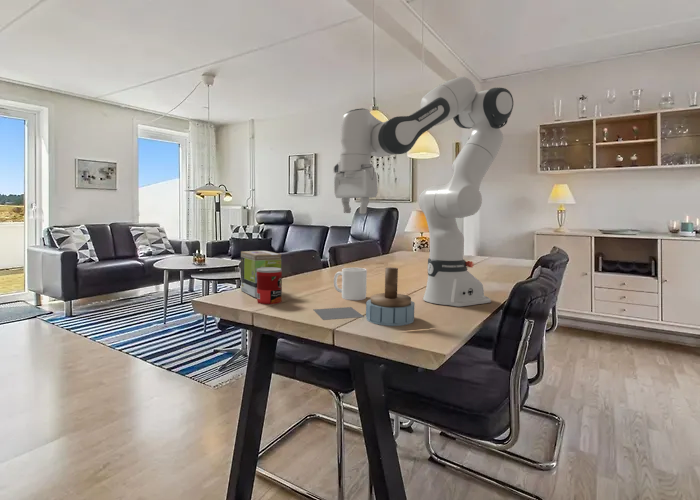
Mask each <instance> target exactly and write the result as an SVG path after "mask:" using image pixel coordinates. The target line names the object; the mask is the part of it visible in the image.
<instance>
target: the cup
mask: <svg viewBox="0 0 700 500" xmlns="http://www.w3.org/2000/svg"><path fill="white" fill-rule="evenodd" d="M367 275H368V271H367V269H366V268H363V267H344V268H342V269H341V271H337V272H336V273H335V274H334V277H333V287H334V289H335V290H336V291H337V292H339V293H340V294H341V298H342V299H343V300H346V301H362V300H366V298H367V280H368V279H367V277H368V276H367ZM339 276H341V288H340V287H339V286H338V277H339Z"/></svg>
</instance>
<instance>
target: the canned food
mask: <svg viewBox="0 0 700 500" xmlns="http://www.w3.org/2000/svg"><path fill="white" fill-rule="evenodd" d="M282 278H283V271H282V267H281V268H276V267H264V268H258V269H257V298H256V301H257V304H262V305H275V304H279V303H281V302H282V301H283V300H282V298H283V295H282V294H283V290H282V289H283V288H282V287H283V284H282V283H283V279H282Z"/></svg>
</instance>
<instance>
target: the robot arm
mask: <svg viewBox="0 0 700 500" xmlns="http://www.w3.org/2000/svg"><path fill="white" fill-rule="evenodd" d="M419 103H420V105H419V107H420V108H418V110H416V111H415V112H413V113H411V114H410V115H402V116H399V115H398V116H394V117H392V118H390V119H388V120H386V121H381V120H379V119H378V118H377V117H375V116H374V115H373V114H372V113H371V112H370V110H369V109H368V108H363V107H361V108H355V109H351V110H348V111H347V112H346V113H344V114H343V116H342V119H341V126H340V127H341V128H340V143H341V150H340V156H339V157H340V160H338V162H337V163H336V164H335V165H334V166H333V170H332V171H333V174H334V179H333V188H334V195H335V198H336V199H341V204H342V208H343V213H344V214H350V213H351V212H352V211H351V210H352V207H351V206H350V200H351V199H359V200H360V201H359V202H360V206H359V207H358V213H359V214H361V215H364V214H367V209H368V205H369V203H370V198H376V197H377V195H378V190H379V189H378V188H379V187H378V177H377V173H376V168H375V167H374V165H373V164H372V163H371V162H372V161H371V158H372V156H373V157H377V158H383V157H389V156H393V155H402V154H406V153H408V152H409V151H410V150H412V148H414V146H415V144H416V143H417V141H418V139H419V138H420V137H421V136H422V135H424V133H427V131H429V130H430V129H433V127H435V126H438V125H442V124H444V123H446V122H448V121H451V120H453V121H454V123H455V124H456V126H458V127H459V128H462V129H468V130H470V129H472V130H471V134H470V137H469V138H468V139H467V140H466V142H465V144H464V145H463V146H462V148H461V150H460V152H458V154H457V156H456V157H455V159H454V160H453V162H452V165H451V169H452V177H451V178H450V180H449V181H448V182H447V183H446V184H435V185H432V186H428V187H427V188H425V189H423V191H422V192H421V193H420V194H419V196H418V197H419V198H418V206H419V208H420V210H421V212H422V213H423V214H424V216H425V219H426V223H427V228H428V232H429V233H428V234H429V255H428V259H427V281H426V288H425V291H424V294H423V298H422V300H423V301H425V302H427V303H431V304H437V305H444V306H452V307H457V308H458V307H467V306H468V307H469V306H474V305H480V304H481V305H482V304H487V303H488V304H489V303H491V302H492V300H491V298H490V297H489V296H486V295H485V289H484V286H483V283H482V282H481V281H480V280H479V279H478V278H477V277H476V276H474V275H473V274H472V273H471V272H470V271H469V270H468V268H473V267H474V265H475V263H474V262H473V261H471V260H467V261H466V260H465V259H464V250H465V249H464V247H465V245H464V243H465V237H464V234H463V232H462V231H461V230H460V229H459V226H458V224H457V221H456V220H457V219H462V218H463V219H464V218H467V217H471V216H474V215H475V214H477V213H478V212H479V211H480V209H481V206H482V204H483V203H482V202H483V198H482V197H483V196H482V193H481V191H480V187H481V184H482V181H483V179H484V177H485V175H486V174H487V172H488V170H489V169H490V168H491V165H492V164H493V163H494V161H495V160H496V157H497V155H498V154H499V151H500V149H501V147H502V145H503V140H504V134H503V132H502V130H501V129H502V128H503V127H505V126H506V125H507V123H508V120H509V118H510V117H511V114H512V113H513V108H514V98H513V95H512V92H511V91H510V90H509V89H507V88H506V87H493V88H490V89H485V90H481V91H477V90H476V86H475V84H474V82H473V81H472V80H471V79H469V77H465V76H458V77H456V78H451V79H450V80H449V79H448V80H446V81H444V82H443V83H441V84H439V85H437V86H435V87H434V88H432V89H431V90H429V91H428V92H427V93H426V94H425V95H423V97H422V98H421V99H420V102H419Z"/></svg>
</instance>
